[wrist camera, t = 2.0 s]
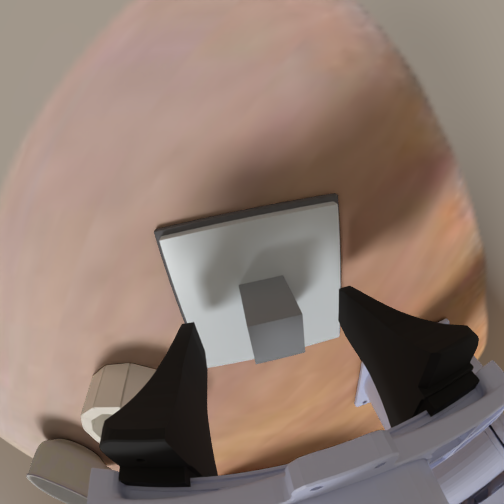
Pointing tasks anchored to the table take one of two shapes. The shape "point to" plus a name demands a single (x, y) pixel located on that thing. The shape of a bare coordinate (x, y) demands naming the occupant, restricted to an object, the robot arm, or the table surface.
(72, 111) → the table surface
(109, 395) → the bowl
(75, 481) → the teacup
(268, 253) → the lid
